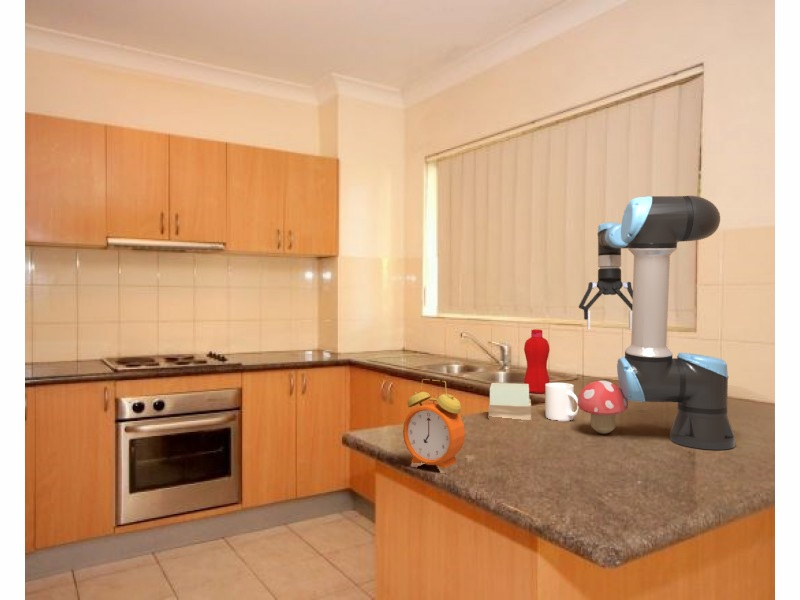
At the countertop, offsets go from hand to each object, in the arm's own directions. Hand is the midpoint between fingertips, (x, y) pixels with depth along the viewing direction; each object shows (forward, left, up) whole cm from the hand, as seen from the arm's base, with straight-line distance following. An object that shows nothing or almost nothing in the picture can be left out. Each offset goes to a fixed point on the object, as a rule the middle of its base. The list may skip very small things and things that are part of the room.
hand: (609, 329), depth 194 cm
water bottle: (+26, +24, -27) cm, 44 cm away
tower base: (-22, +33, -27) cm, 48 cm away
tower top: (-22, +33, -22) cm, 46 cm away
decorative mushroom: (-39, +7, -27) cm, 48 cm away
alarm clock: (-79, +49, -27) cm, 97 cm away
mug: (-23, +17, -27) cm, 39 cm away
